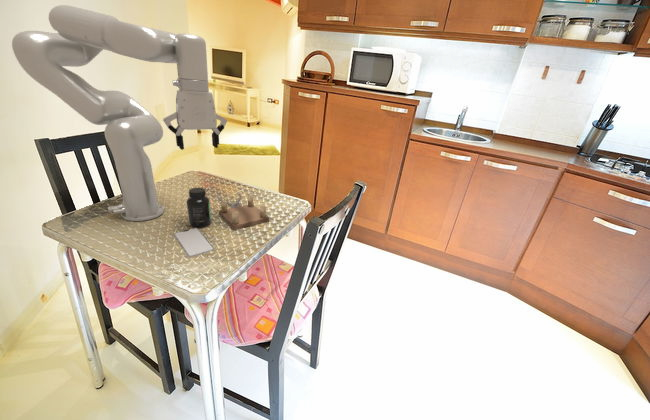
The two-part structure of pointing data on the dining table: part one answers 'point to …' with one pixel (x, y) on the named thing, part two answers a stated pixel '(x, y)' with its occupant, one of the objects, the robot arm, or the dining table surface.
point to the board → (243, 214)
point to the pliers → (232, 204)
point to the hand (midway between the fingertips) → (198, 147)
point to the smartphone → (193, 242)
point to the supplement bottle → (198, 208)
